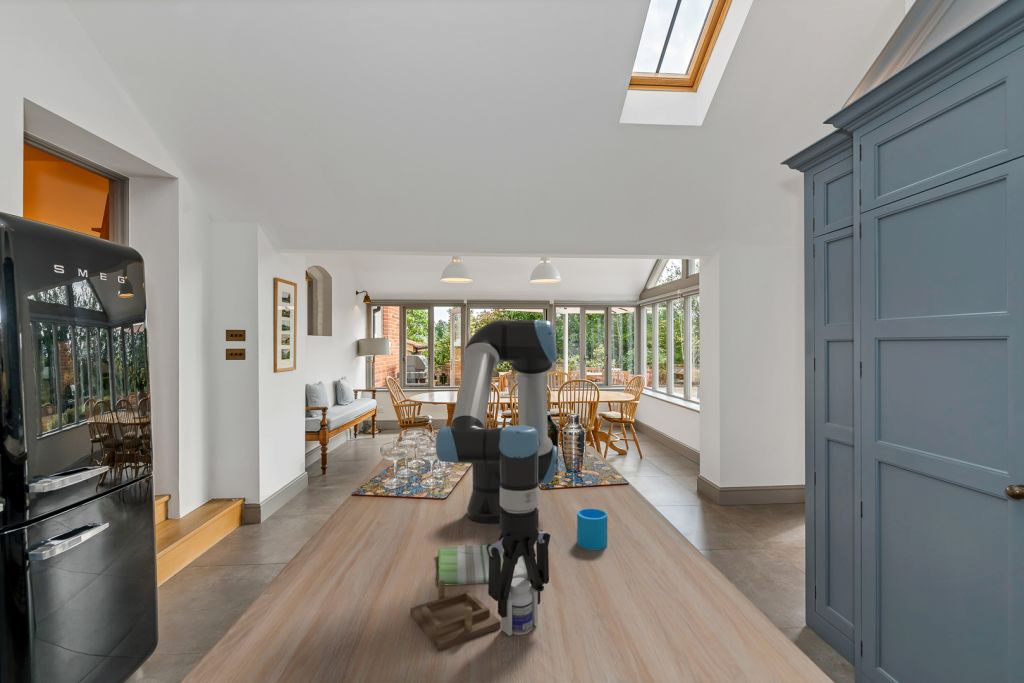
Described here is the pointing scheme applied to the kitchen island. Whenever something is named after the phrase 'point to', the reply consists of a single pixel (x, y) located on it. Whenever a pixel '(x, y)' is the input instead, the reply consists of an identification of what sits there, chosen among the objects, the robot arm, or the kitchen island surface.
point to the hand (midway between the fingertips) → (519, 626)
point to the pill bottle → (521, 606)
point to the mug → (592, 529)
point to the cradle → (454, 618)
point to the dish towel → (470, 565)
